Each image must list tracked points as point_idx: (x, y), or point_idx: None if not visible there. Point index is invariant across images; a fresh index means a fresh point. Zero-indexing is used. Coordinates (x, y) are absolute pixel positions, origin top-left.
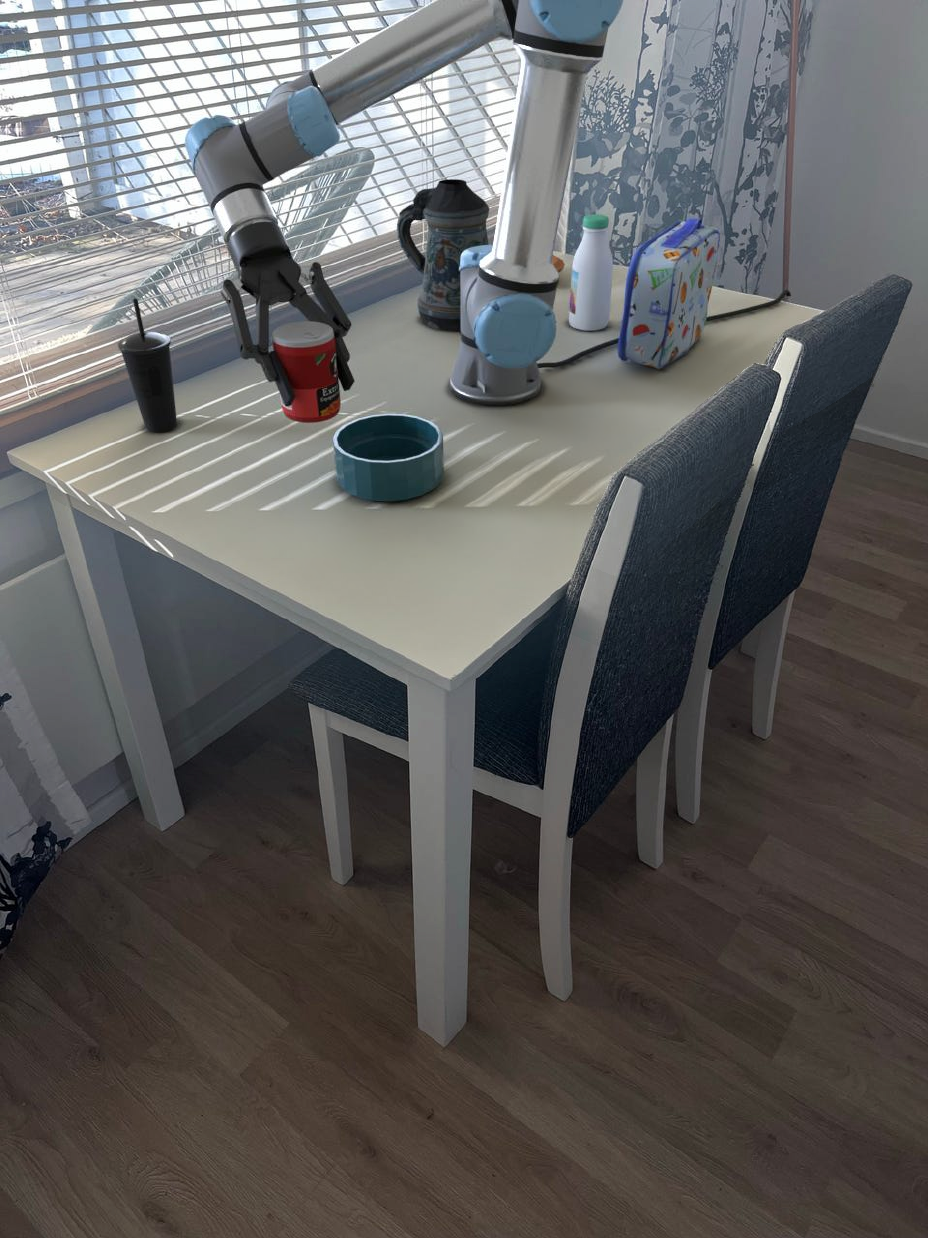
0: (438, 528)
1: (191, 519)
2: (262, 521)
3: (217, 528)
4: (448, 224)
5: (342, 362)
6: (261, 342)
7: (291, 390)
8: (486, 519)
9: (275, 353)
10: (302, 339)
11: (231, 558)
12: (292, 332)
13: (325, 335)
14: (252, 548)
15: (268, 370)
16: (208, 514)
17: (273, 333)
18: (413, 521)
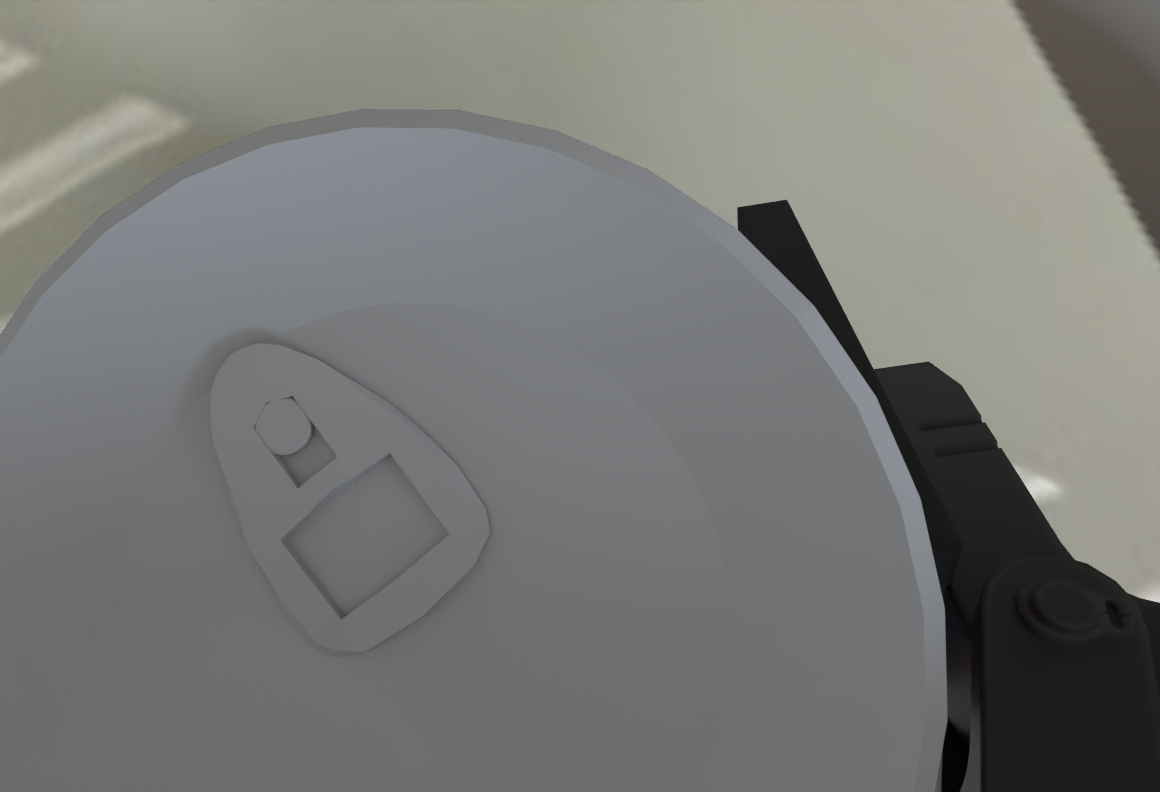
0: (326, 25)
1: (1130, 448)
2: (874, 318)
3: (1047, 339)
4: None
5: None
6: (1116, 701)
7: (761, 236)
8: (164, 17)
9: None
10: (494, 388)
11: (1043, 116)
12: (546, 779)
13: (125, 315)
14: (956, 151)
15: (964, 418)
16: (1058, 457)
17: (910, 786)
18: (382, 100)
